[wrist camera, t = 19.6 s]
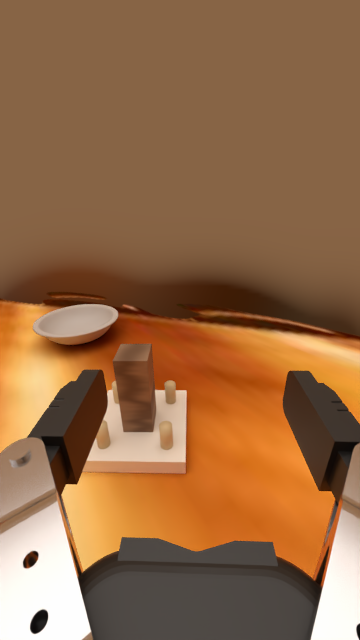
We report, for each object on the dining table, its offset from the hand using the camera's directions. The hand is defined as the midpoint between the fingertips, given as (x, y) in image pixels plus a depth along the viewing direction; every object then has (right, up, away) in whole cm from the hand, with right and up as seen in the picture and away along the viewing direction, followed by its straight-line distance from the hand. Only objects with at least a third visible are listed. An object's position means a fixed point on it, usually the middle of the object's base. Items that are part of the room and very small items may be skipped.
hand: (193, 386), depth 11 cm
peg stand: (-7, -17, +35) cm, 40 cm away
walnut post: (-7, -15, +34) cm, 38 cm away
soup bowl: (-31, -3, +69) cm, 76 cm away
